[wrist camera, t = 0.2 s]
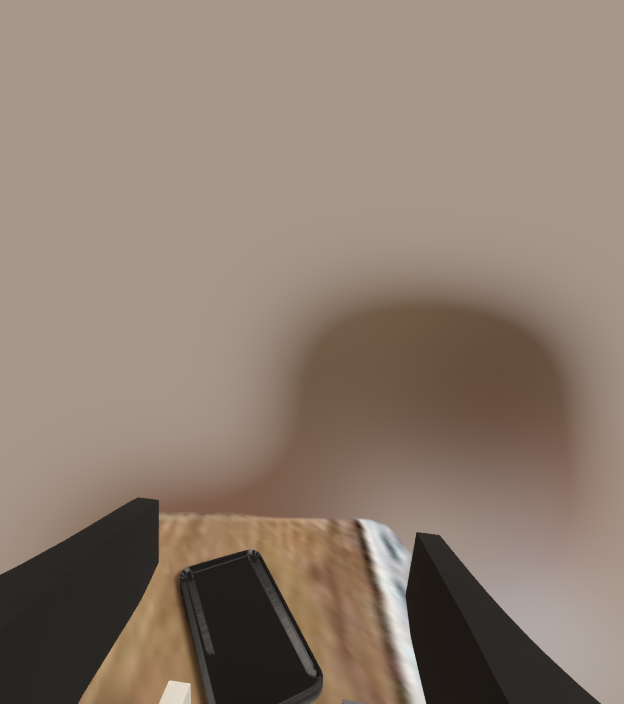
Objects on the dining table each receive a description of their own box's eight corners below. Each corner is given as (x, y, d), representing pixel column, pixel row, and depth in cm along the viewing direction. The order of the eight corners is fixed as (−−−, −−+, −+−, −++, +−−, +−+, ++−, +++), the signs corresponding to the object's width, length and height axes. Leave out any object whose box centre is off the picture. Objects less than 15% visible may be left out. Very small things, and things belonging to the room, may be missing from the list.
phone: (256, 547, 39) (329, 684, 27) (256, 556, 40) (328, 697, 27) (177, 570, 36) (215, 742, 23) (177, 580, 36) (215, 757, 23)
